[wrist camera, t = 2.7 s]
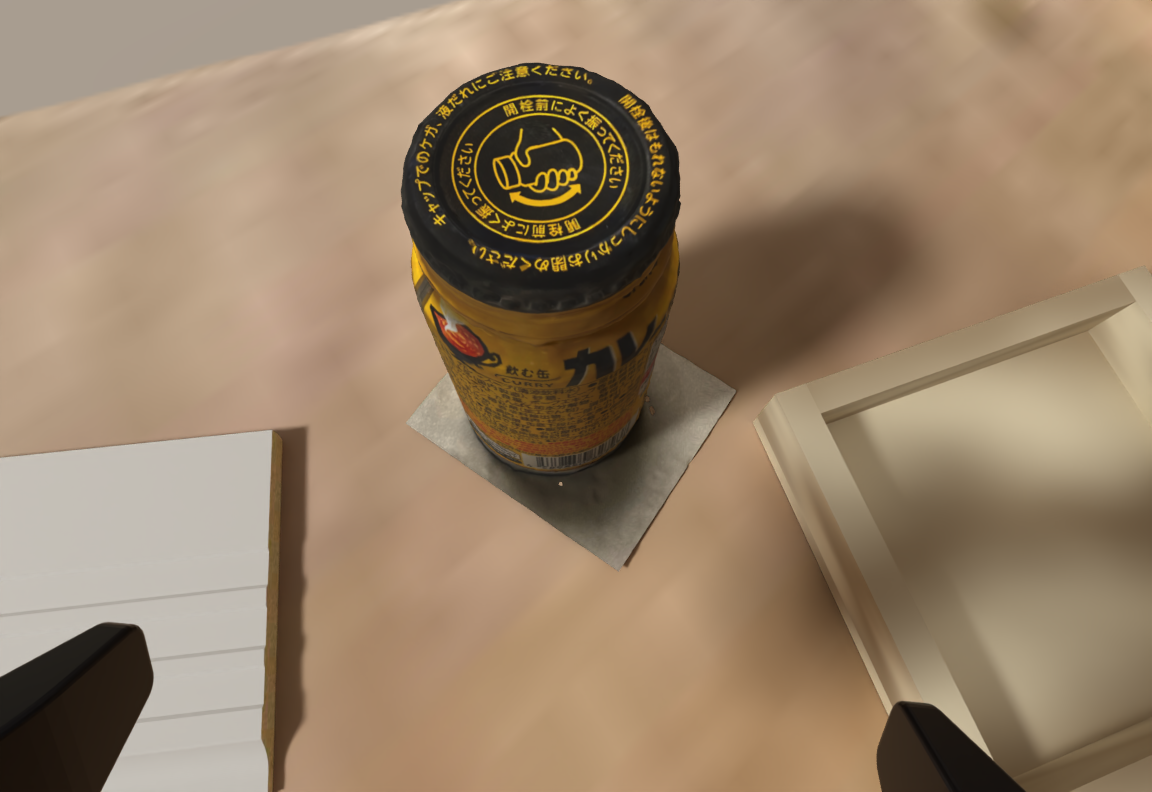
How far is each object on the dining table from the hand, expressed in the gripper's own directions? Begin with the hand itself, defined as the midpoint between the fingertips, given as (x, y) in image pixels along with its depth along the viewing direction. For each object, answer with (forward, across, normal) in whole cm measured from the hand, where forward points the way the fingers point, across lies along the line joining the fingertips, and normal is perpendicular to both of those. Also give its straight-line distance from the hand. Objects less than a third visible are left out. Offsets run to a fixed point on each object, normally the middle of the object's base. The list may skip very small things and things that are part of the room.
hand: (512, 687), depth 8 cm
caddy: (+13, -15, +6) cm, 21 cm away
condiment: (+15, 0, +4) cm, 16 cm away
